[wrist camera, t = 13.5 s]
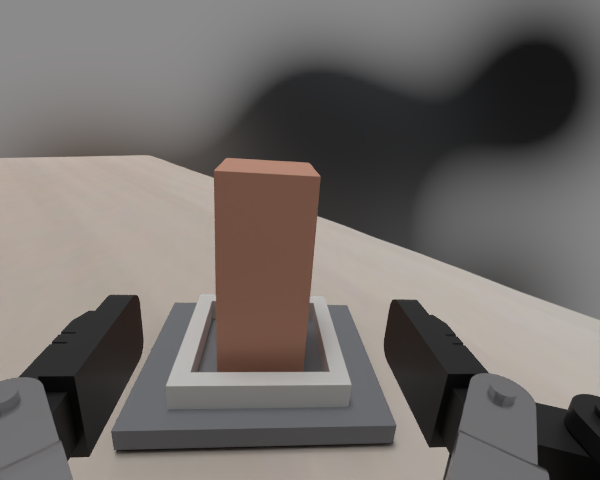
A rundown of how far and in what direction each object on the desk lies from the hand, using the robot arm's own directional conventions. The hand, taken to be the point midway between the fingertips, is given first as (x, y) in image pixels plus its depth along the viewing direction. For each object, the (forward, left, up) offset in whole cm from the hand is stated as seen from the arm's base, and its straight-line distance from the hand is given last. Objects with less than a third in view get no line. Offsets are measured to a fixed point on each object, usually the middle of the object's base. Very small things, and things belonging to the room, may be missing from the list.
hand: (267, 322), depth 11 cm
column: (-3, +9, -8) cm, 13 cm away
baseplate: (-3, +9, -10) cm, 13 cm away
